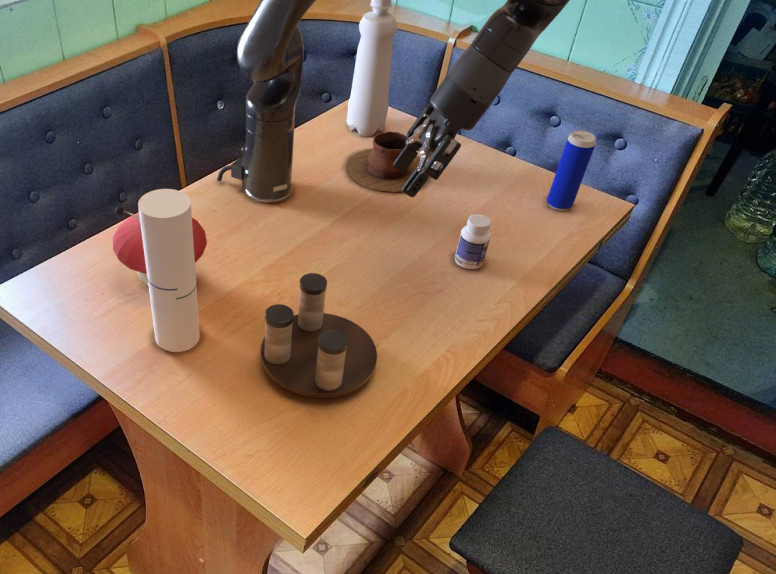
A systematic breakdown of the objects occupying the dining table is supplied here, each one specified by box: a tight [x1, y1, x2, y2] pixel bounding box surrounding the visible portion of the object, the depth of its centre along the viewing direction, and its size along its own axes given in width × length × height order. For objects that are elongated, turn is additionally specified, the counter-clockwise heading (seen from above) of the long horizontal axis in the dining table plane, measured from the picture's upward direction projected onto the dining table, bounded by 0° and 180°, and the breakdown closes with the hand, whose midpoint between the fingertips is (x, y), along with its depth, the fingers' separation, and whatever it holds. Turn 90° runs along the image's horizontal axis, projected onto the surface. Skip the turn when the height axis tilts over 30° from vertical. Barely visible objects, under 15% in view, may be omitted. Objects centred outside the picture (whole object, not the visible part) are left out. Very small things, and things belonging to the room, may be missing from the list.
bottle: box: [346, 0, 398, 137], centre depth 157 cm, size 9×9×30 cm
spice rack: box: [260, 272, 378, 399], centre depth 110 cm, size 18×18×9 cm
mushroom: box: [112, 206, 208, 288], centre depth 122 cm, size 16×16×15 cm
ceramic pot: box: [345, 130, 421, 193], centre depth 152 cm, size 18×18×7 cm
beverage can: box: [546, 129, 597, 212], centre depth 142 cm, size 5×5×15 cm
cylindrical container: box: [137, 188, 201, 353], centre depth 108 cm, size 7×7×25 cm
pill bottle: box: [454, 213, 492, 270], centre depth 130 cm, size 5×5×9 cm
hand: (402, 181), depth 111 cm, fingers open, 8 cm apart
